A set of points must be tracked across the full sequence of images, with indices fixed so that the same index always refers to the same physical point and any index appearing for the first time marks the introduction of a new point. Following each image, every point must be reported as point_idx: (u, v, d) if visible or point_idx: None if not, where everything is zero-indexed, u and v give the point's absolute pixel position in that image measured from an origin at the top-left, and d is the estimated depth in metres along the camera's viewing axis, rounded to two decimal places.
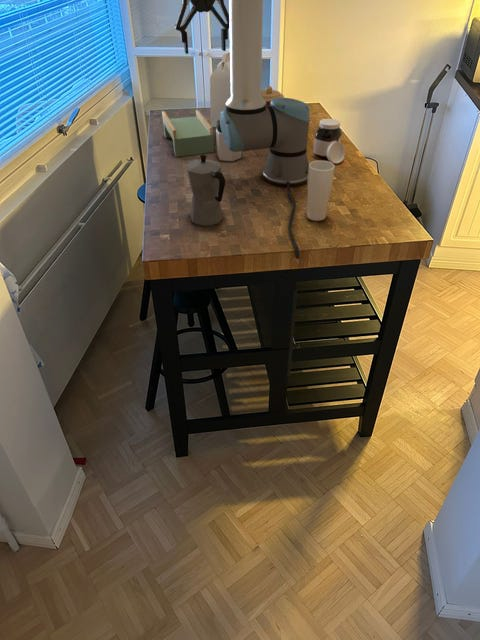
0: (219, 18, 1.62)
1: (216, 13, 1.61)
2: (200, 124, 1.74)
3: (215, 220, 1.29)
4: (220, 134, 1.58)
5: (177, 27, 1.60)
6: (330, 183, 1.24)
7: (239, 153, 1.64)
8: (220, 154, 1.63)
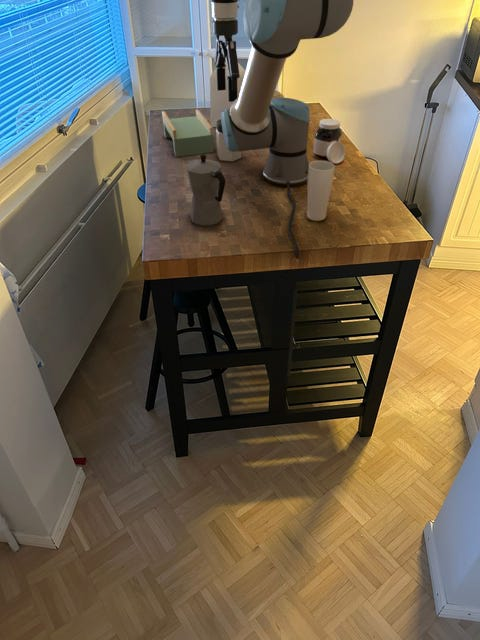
0: (227, 65, 1.43)
1: (226, 59, 1.43)
2: (200, 124, 1.74)
3: (215, 220, 1.29)
4: (220, 134, 1.58)
5: None
6: (330, 183, 1.24)
7: (239, 153, 1.64)
8: (220, 154, 1.63)
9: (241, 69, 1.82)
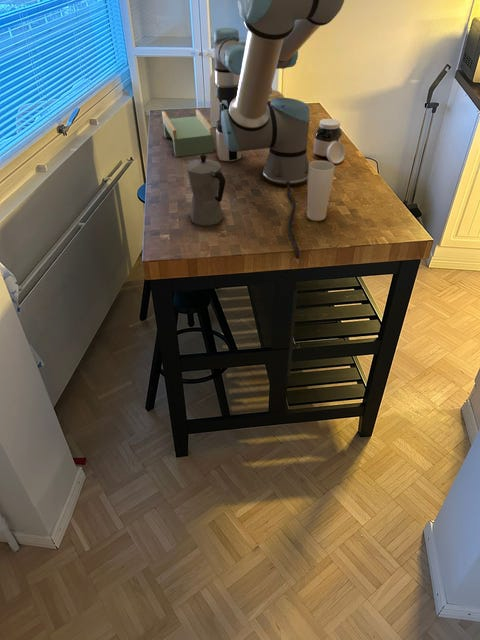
0: None
1: None
2: (200, 124, 1.74)
3: (215, 220, 1.29)
4: (220, 134, 1.58)
5: None
6: (330, 183, 1.24)
7: (239, 153, 1.64)
8: (220, 154, 1.63)
9: None
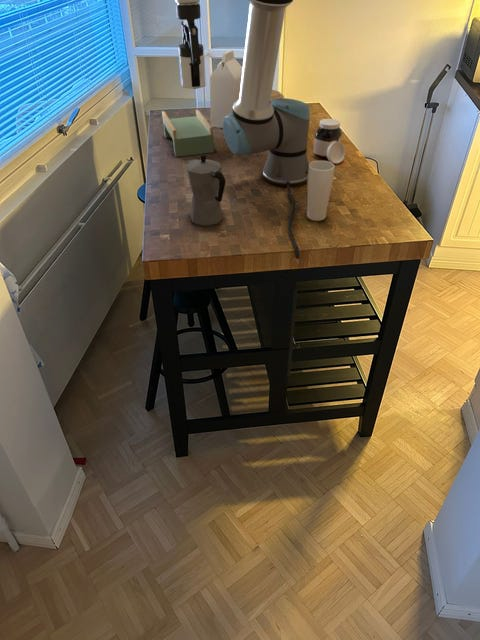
0: None
1: (188, 44, 1.50)
2: (200, 124, 1.74)
3: (215, 220, 1.29)
4: (182, 58, 1.53)
5: None
6: (330, 183, 1.24)
7: (203, 80, 1.58)
8: (183, 81, 1.57)
9: (241, 69, 1.82)
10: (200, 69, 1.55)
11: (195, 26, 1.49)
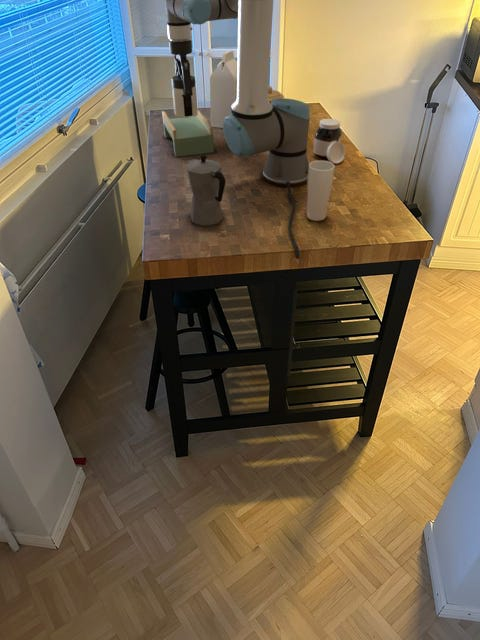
0: (182, 83, 1.59)
1: (181, 77, 1.59)
2: (200, 124, 1.74)
3: (215, 220, 1.29)
4: (175, 90, 1.61)
5: None
6: (330, 183, 1.24)
7: (195, 110, 1.67)
8: (176, 110, 1.66)
9: None
10: (192, 99, 1.64)
11: (187, 60, 1.58)
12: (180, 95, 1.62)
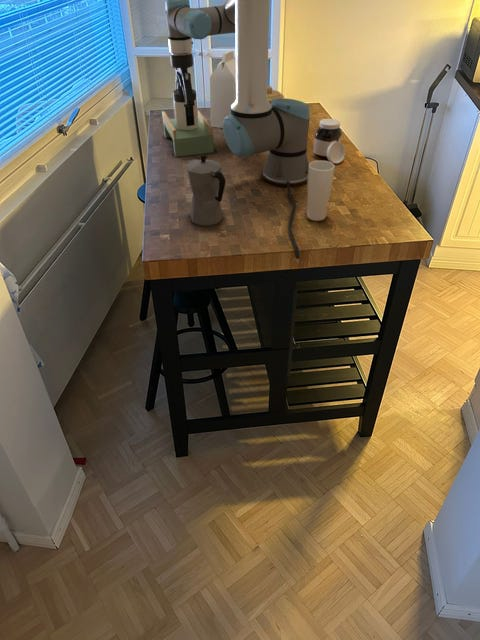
0: None
1: (182, 88, 1.60)
2: (200, 124, 1.74)
3: (215, 220, 1.29)
4: (176, 103, 1.64)
5: None
6: (330, 183, 1.24)
7: (196, 122, 1.70)
8: (177, 123, 1.69)
9: None
10: None
11: None
12: (181, 108, 1.65)
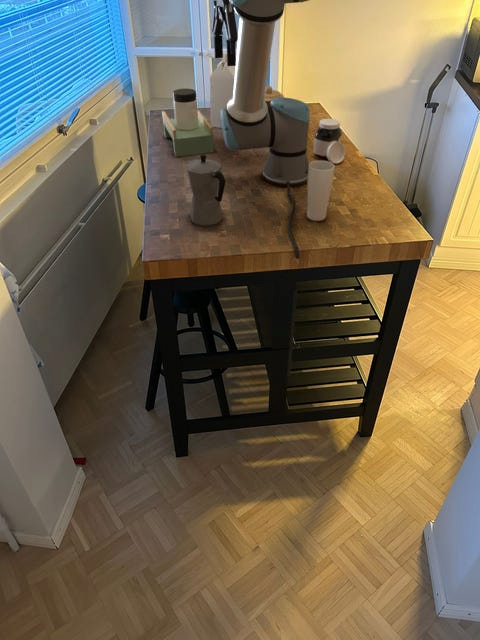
0: (225, 29, 1.46)
1: (224, 23, 1.45)
2: (200, 124, 1.74)
3: (215, 220, 1.29)
4: (176, 103, 1.64)
5: None
6: (330, 183, 1.24)
7: (196, 122, 1.70)
8: (177, 123, 1.69)
9: None
10: (193, 113, 1.67)
11: None
12: (181, 108, 1.65)
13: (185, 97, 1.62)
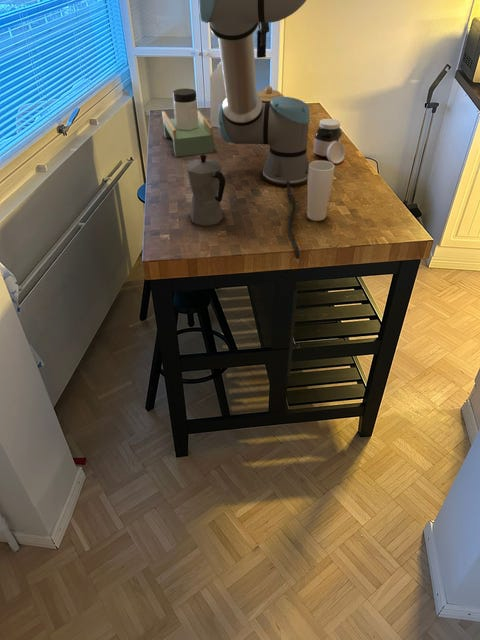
0: None
1: None
2: (200, 124, 1.74)
3: (215, 220, 1.29)
4: (176, 103, 1.64)
5: None
6: (330, 183, 1.24)
7: (196, 122, 1.70)
8: (177, 123, 1.69)
9: None
10: (193, 113, 1.67)
11: None
12: (181, 108, 1.65)
13: (185, 97, 1.62)
